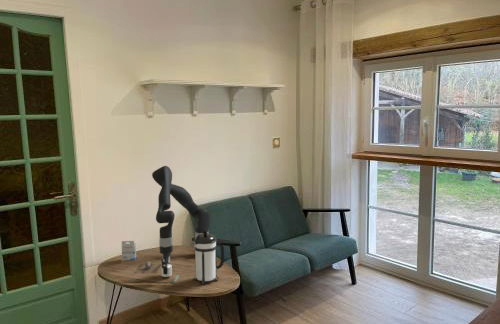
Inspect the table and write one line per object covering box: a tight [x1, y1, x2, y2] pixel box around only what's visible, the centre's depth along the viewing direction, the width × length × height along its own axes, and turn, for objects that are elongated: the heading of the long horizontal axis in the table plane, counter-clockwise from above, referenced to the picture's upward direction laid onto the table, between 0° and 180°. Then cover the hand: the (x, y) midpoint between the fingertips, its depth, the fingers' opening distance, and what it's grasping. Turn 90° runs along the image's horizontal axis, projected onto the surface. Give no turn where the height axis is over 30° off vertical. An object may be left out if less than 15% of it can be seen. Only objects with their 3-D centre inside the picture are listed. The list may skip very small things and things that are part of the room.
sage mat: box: [154, 274, 180, 284], centre depth 221 cm, size 12×10×1 cm
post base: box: [133, 261, 162, 274], centre depth 234 cm, size 14×14×6 cm
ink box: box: [121, 240, 137, 262], centre depth 250 cm, size 8×5×15 cm, turn 96°
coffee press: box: [193, 231, 225, 286], centre depth 220 cm, size 17×16×30 cm
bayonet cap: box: [160, 264, 173, 278], centre depth 221 cm, size 6×6×6 cm
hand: (166, 271), depth 221 cm, fingers closed on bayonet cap, 6 cm apart
